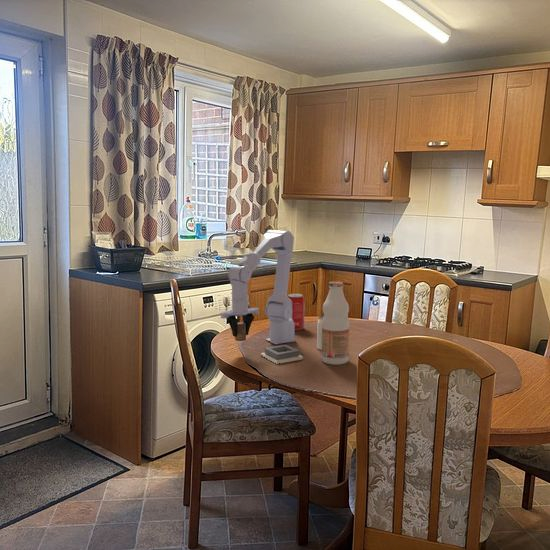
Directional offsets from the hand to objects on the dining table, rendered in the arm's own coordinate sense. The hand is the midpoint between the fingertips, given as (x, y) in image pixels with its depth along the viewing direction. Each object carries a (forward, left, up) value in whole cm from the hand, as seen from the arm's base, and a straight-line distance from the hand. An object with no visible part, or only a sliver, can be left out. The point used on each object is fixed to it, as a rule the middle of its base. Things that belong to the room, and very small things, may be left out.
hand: (240, 335), depth 196 cm
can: (-31, +10, -7) cm, 33 cm away
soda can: (-37, -21, -7) cm, 43 cm away
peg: (0, 0, -2) cm, 2 cm away
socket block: (-11, +11, -7) cm, 17 cm away
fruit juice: (-25, +24, -7) cm, 35 cm away
